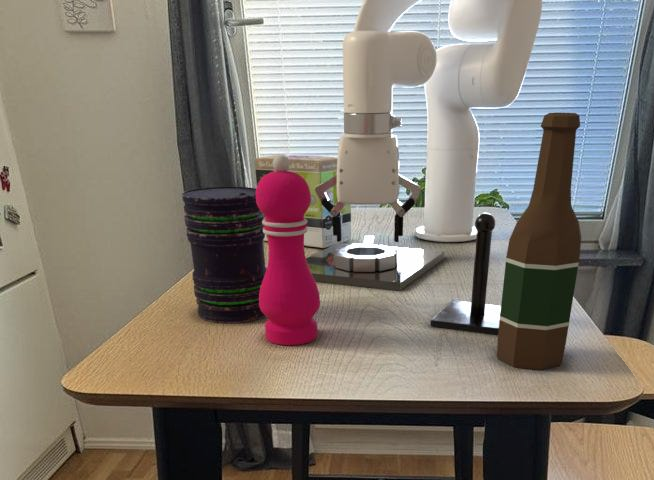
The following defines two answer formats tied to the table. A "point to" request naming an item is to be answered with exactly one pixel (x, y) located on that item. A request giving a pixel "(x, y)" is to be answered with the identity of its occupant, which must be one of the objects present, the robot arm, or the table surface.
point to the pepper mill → (286, 258)
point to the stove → (397, 278)
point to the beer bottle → (543, 257)
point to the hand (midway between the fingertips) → (368, 240)
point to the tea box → (313, 196)
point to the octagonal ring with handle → (365, 257)
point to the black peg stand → (474, 290)
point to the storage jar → (226, 252)
